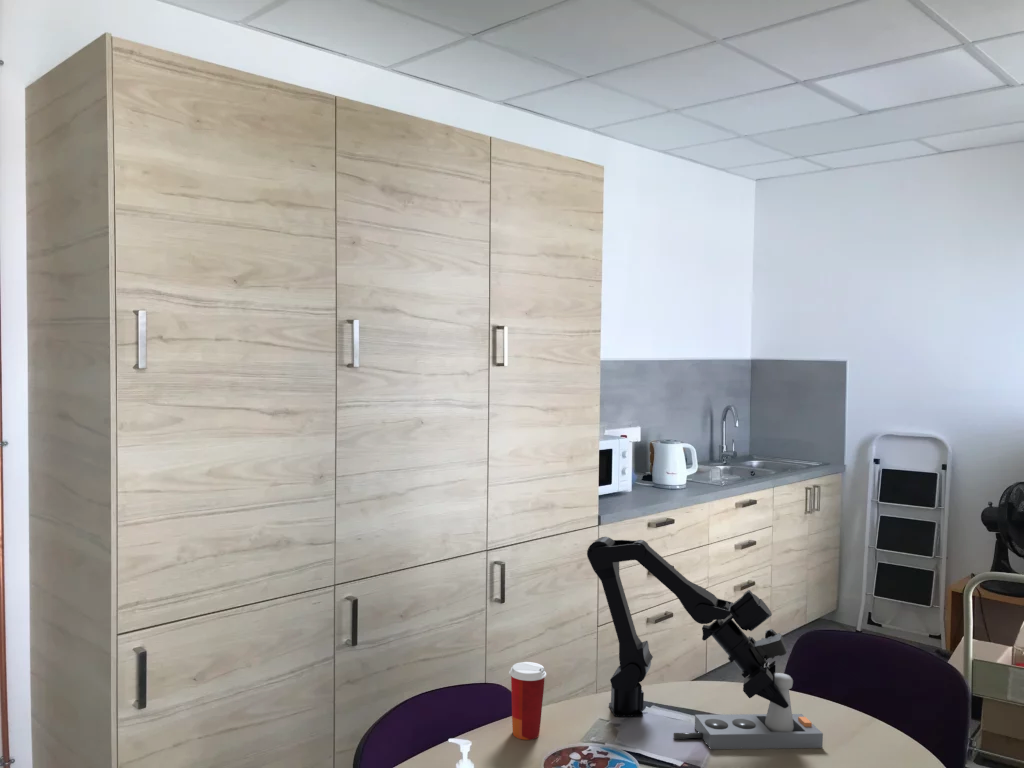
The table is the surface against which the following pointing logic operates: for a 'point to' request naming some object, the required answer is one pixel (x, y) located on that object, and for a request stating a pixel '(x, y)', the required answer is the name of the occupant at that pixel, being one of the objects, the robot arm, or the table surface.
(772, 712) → the salt shaker
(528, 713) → the paper cup
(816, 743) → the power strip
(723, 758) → the table surface
